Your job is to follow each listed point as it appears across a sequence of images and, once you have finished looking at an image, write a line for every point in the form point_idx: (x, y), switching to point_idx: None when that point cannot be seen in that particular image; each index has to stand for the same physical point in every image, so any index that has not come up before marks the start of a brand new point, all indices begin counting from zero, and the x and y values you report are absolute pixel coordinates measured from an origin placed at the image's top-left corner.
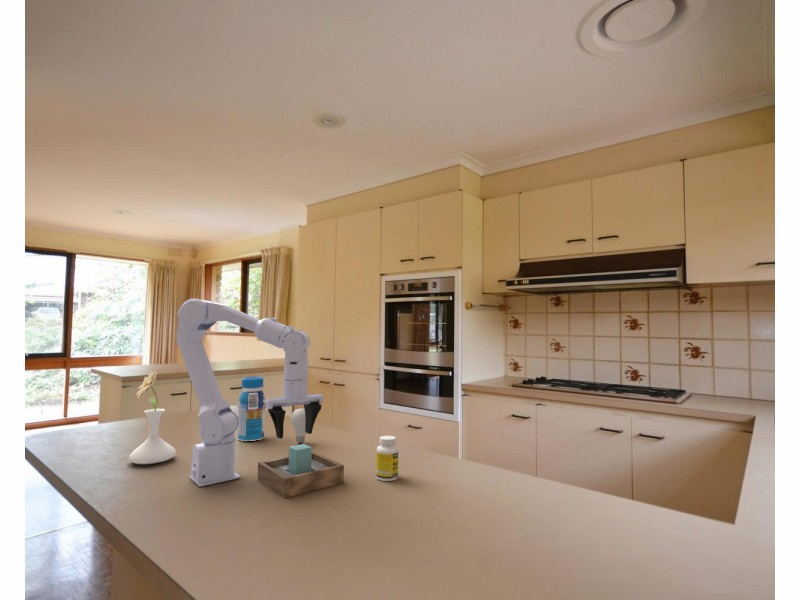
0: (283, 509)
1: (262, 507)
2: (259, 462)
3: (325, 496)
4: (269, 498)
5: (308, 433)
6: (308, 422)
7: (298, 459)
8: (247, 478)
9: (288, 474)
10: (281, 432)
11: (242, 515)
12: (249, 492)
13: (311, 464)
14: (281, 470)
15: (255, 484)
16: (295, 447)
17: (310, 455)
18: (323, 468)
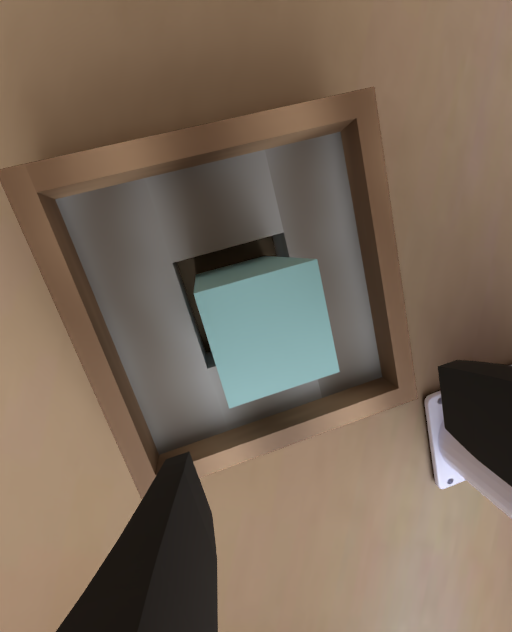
0: (360, 3)
1: (419, 72)
2: (412, 396)
3: (172, 53)
4: None
5: (194, 467)
6: (190, 593)
7: (281, 261)
8: None
9: None
10: (507, 369)
11: (488, 32)
12: (424, 249)
13: (176, 370)
14: None
15: None
16: (305, 336)
17: (202, 284)
18: (127, 285)
